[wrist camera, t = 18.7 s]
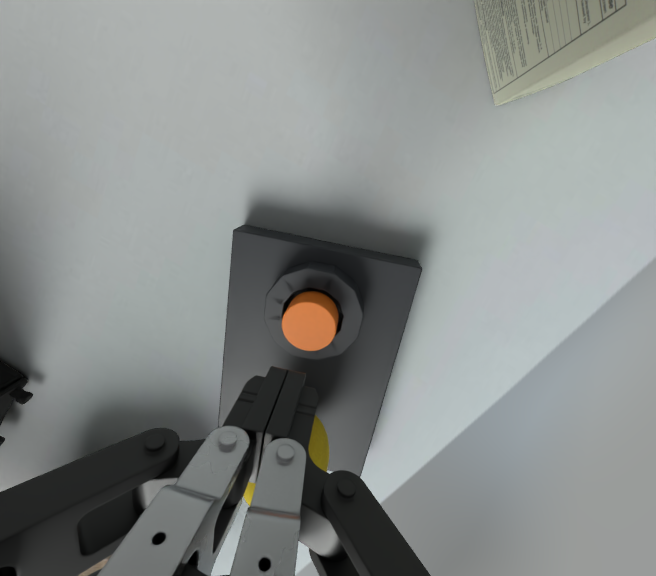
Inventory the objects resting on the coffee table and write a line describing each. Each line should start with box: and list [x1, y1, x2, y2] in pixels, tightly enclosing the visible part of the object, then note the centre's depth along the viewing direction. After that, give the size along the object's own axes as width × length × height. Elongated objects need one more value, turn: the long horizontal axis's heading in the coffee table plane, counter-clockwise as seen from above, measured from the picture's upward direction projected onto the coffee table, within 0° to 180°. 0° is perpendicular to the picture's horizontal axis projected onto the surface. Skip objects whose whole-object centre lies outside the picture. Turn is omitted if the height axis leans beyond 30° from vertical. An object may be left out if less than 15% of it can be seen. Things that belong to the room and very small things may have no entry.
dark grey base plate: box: [218, 225, 422, 477], centre depth 24 cm, size 12×18×4 cm, turn 170°
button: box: [282, 291, 339, 351], centre depth 20 cm, size 3×3×2 cm
